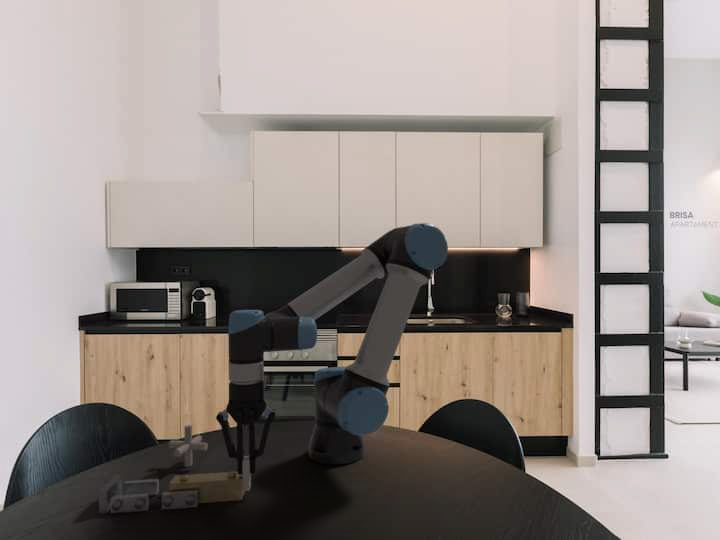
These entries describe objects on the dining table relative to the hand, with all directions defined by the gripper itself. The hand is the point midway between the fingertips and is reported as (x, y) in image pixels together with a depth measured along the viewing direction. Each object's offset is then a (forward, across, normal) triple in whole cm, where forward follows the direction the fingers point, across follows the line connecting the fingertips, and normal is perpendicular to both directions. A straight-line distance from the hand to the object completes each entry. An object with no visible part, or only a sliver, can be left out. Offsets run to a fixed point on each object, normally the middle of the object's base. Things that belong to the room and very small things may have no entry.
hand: (246, 487), depth 100 cm
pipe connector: (+2, +17, -18) cm, 25 cm away
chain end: (+2, +13, 0) cm, 13 cm away
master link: (+2, +8, 0) cm, 8 cm away
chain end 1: (+2, +24, 0) cm, 24 cm away
